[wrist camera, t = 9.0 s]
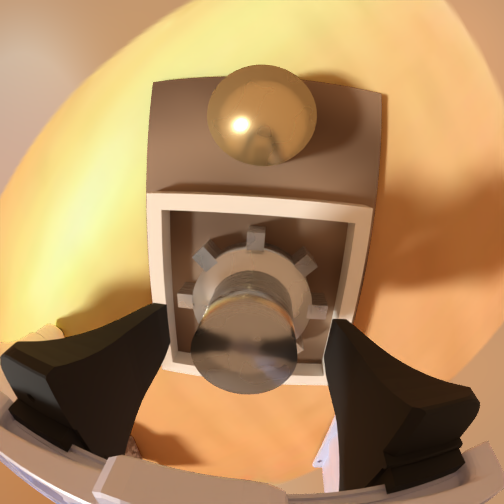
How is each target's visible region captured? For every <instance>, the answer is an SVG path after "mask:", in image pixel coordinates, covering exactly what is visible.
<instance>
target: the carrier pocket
mask: <svg viewBox="0 0 504 504" xmlns="http://www.w3.org/2000/svg"><path fill="white" fill-rule="evenodd" d="M170 210H178V211H201V212H221V213H238V214H254V215H268V216H281V217H294V218H306V219H317V220H328V221H338V222H348V229H347V236H346V243H345V250H344V256H343V263H342V269H341V275H340V280H339V286H338V291H337V296H336V301H335V306H334V311H333V316H332V319H347V320H348V321H349V322H350V323H352V319H353V315H354V311H355V307H356V302H357V298H358V293H359V289H360V284H361V279H362V274H363V269H364V264H365V258H366V253H367V247H368V240H369V234H370V227H371V220H372V212H373V208H371V207H369V206H366V205H361V204H353V203H345V202H336V201H327V200H317V199H306V198H295V197H283V196H269V195H255V194H237V193H216V192H184V191H155V192H150V193H147V234H148V254H149V269H150V281H151V292H152V301H153V303H160V304H167V314H168V324H169V333H170V341H171V342H170V345H169V348H168V351H167V353H166V356H165V359H164V361H163V363H162V364H161V365H162V369H163V370H168V371H174V372H179V373H185V374H191V375H197V376H202V375H201V374H200V373H199V372H198V370H197V369H196V367H195V365H194V363H193V360H192V357H191V353H187V352H181V351H178V345H177V336H176V326H175V314H174V302H173V287H172V269H171V241H170ZM331 323H332V321H331ZM330 328H331V325H330ZM329 332H330V330H329ZM328 336H329V334H328ZM327 341H328V338H327ZM326 345H327V343H326ZM325 349H326V347H325ZM324 353H325V351H324ZM283 384H290V385H328V382H327V378H326V373H325V364H324V355H323V359H322V363H321V364H307V363H297V364H296V368H295V370H294V372H293V373H292V375H291V376H290V377H289V379H288V380H287V381H285V382H284V383H283Z"/></svg>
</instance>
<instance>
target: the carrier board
mask: <svg viewBox="0 0 504 504" xmlns="http://www.w3.org/2000/svg"><path fill="white" fill-rule="evenodd" d="M224 78H225V77H203V78H188V79H177V80H167V81H159V82H153V88H152V96H151V106H150V117H149V131H148V148H147V180H146V208H147V193H150V192H155V191H184V192H216V193H237V194H255V195H269V196H283V197H295V198H306V199H317V200H327V201H336V202H345V203H353V204H361V205H366V206H369V207H371V208H373V212H372V220H371V227H370V234H369V240H368V247H367V253H366V258H365V264H364V269H363V274H362V279H361V284H360V289H359V293H358V298H357V302H356V307H355V311H354V315H353V319H352V324H353V323H354V319H355V315H356V311H357V307H358V303H359V298H360V294H361V289H362V284H363V280H364V275H365V270H366V264H367V259H368V253H369V248H370V241H371V235H372V228H373V221H374V214H375V206H376V197H377V188H378V177H379V164H380V148H381V113H382V103H381V94H380V93H376V92H372V91H367V90H363V89H358V88H353V87H347V86H342V85H336V84H329V83H322V82H315V81H307V80H302V81H303V82H304V84H305V85H306V86H307V87H308V89H309V90H310V92H311V94H312V96H313V98H314V101H315V104H316V110H317V121H316V126H315V130H314V133H313V135H312V137H311V139H310V141H309V142H308V144H307V145H306V146H305V147H304V148H303V149H302V150H301V151H300V152H299V153H298V154H296V155H295V156H294V157H292V158H291V159H289V160H287V161H285V162H283V163H281V164H278V165H274V166H267V167H261V166H254V165H250V164H246V163H243V162H240V161H238V160H236V159H234V158H232V157H230V156H229V155H228V154H226V153H225V152H224V151H223V150H222V149H221V148H220V147H219V146H218V145H217V144H216V142H215V141H214V139H213V137H212V135H211V133H210V130H209V127H208V122H207V109H208V104H209V100H210V98H211V95H212V93H213V91H214V90H215V88H216V87H217V86H218V84H219V83H220V82H221V81H222V80H223V79H224ZM250 225H251V226H265V227H266V231H265V243H268V244H272V245H274V246H277V247H279V248H281V249H283V250H284V251H286V252H287V253H289V254H290V255H291V256H292V255H293V254H294V253H295V252H297V251H298V250H299V249H300V248H302V247H303V246H305V247H306V249H307V250H308V251H309V252H310V253H311V255H312V256H313V257H314V259H315V262H316V264H317V266H318V267H317V268H316V269H315V270H313V271H312V272H311V273H310V274H308V275H307V276H306V278H307V282H308V285H309V289H310V292H315V293H324V296H325V299H326V301H327V304H328V309H327V314H326V319H309V322H308V324H307V326H306V328H305V330H304V331H303V332H302V334H301V335H302V341H303V348H304V350H303V351H301V352H300V353H298V354H297V355H298V358H297V363H307V364H321V363H322V359H323V355H324V351H325V347H326V343H327V338H328V334H329V330H330V325H331V321H332V316H333V311H334V306H335V301H336V296H337V291H338V286H339V280H340V275H341V269H342V263H343V256H344V250H345V243H346V236H347V229H348V222H338V221H328V220H317V219H306V218H294V217H281V216H268V215H254V214H238V213H221V212H201V211H178V210H170V241H171V269H172V287H173V302H174V314H175V326H176V336H177V345H178V351H181V352H187V353H191V342H192V339H193V336H194V334H195V332H196V330H197V328H198V326H199V323H198V322H197V319H196V317H195V314H194V310H193V309H189V308H181V307H178V297H177V293H178V292H179V290H180V289H181V288H182V286H183V285H184V284H185V282H191V283H196V281H197V279H198V278H199V276H200V274H201V273H202V271H203V269H202V268H201V267H200V265H199V264H198V263H197V262H196V261H195V260H194V259H193V258H192V257H193V255H194V254H195V253H196V252H197V251H198V250H199V249H200V248H201V247H202V246H203V245H204V244H205V243H206V242H207V241H208V240H209V239H211V240H212V241H213V242H214V243H215V244H216V245H217V247H218V248H219V249H220V250H223V249H224V248H226V247H228V246H231V245H233V244H237V243H241V242H247V231H248V229H249V226H250ZM147 240H148V234H147ZM148 258H149V254H148ZM149 272H150V269H149ZM150 284H151V281H150ZM151 294H152V292H151ZM152 303H153V301H152Z"/></svg>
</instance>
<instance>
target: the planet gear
mask: <svg viewBox="0 0 504 504" xmlns="http://www.w3.org/2000/svg"><path fill="white" fill-rule="evenodd" d="M265 231H266V227H265V226H251V225H250V226H249V229H248V231H247V242H241V243H237V244H233V245H231V246H228V247H226V248H224V249H223V250H220V249H219V248H218V247H217V245H216V244H215V243H214V242H213V241H212V240H211V239H209V240H208V241H207V242H206V243H205V244H204V245H203V246H202V247H201V248H200V249H199V250H198V251H197V252H196V253H195V254H194V255H193V257H192V258H193V259H194V260H195V261H196V262H197V263H198V264H199V265H200V267H201V268H202V269H203V271H202V273H201V274H200V276H199V278H198V279H197V281H196V283H191V282H185V284H184V285H183V286H182V288H181V289H180V290H179V292H178V293H177V297H178V307H181V308H189V309H193V310H194V314H195V317H196V319H197V322H198V323H199V326H198V328H197V330H196V332H195V334H194V336H193V339H192V342H191V357H192V360H193V363H194V365H195V367H196V369H197V370H198V372H199V373H200V374H201V375H202V376H203V377H204V378H205V379H206V380H207V381H209V382H210V383H211V384H213V385H215V386H216V387H218V388H221V389H223V390H226V391H229V392H233V393H238V394H259V393H263V392H267V391H270V390H273V389H275V388H277V387H279V386H280V385H282V384H283V383H284V382H285V381H287V380H288V379H289V377H290V376H291V375H292V373H293V372H294V370H295V368H296V364H297V358H298V355H297V354H298V353H300V352H301V351H303V350H304V348H303V341H302V335H301V334H302V332H303V331H304V330H305V328H306V326H307V324H308V322H309V319H326V314H327V309H328V304H327V301H326V299H325V296H324V293H315V292H310V289H309V285H308V282H307V278H306V276H307V275H308V274H310V273H311V272H312V271H313V270H315V269H316V268H317V267H318V266H317V264H316V262H315V259H314V257H313V256H312V255H311V253H310V252H309V251H308V250H307V249H306V247H305V246H303V247H302V248H300V249H299V250H298V251H297V252H295V253H294V254H293V255H292V256H291V255H290V254H289V253H287V252H286V251H284V250H283V249H281V248H279V247H277V246H274V245H272V244H268V243H265Z"/></svg>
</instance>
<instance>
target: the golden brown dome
mask: <svg viewBox="0 0 504 504" xmlns="http://www.w3.org/2000/svg"><path fill="white" fill-rule="evenodd" d="M316 121H317V110H316V104H315V101H314V98H313V96H312V94H311V92H310V90H309V89H308V87H307V86H306V85H305V84H304V82H303V81H302V80H301V79H299V78H298V77H297V76H296V75H294V74H293V73H291V72H289V71H287V70H285V69H283V68H280V67H276V66H272V65H253V66H248V67H244V68H241V69H239V70H236V71H235V72H233V73H231V74H229V75H228V76H227V77H225V78H224V79H223V80H222V81H221V82H220V83H219V84H218V86H217V87H216V88H215V90H214V91H213V93H212V95H211V98H210V100H209V104H208V109H207V122H208V127H209V130H210V133H211V135H212V137H213V139H214V141H215V142H216V144H217V145H218V146H219V147H220V148H221V149H222V150H223V151H224V152H225V153H226V154H228V155H229V156H230V157H232V158H234V159H236V160H238V161H240V162H243V163H246V164H250V165H254V166H261V167H267V166H274V165H278V164H281V163H283V162H285V161H287V160H289V159H291V158H292V157H294V156H295V155H296V154H298V153H299V152H300V151H301V150H302V149H303V148H304V147H305V146H306V145H307V144H308V142H309V141H310V139H311V137H312V135H313V133H314V130H315V126H316Z"/></svg>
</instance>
